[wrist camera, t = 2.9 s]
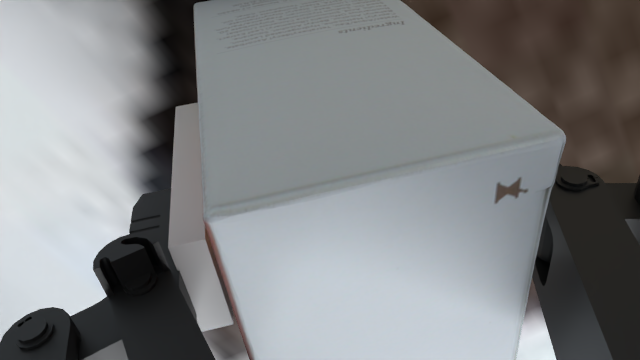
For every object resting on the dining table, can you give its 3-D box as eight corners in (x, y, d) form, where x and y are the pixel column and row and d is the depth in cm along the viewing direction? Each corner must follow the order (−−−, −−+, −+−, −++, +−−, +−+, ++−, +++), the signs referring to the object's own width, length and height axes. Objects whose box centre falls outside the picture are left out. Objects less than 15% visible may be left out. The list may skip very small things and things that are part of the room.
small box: (190, -2, 15) (191, 208, 7) (369, -32, 16) (581, 125, 7) (243, 205, 20) (283, 484, 11) (379, 176, 20) (514, 419, 12)
